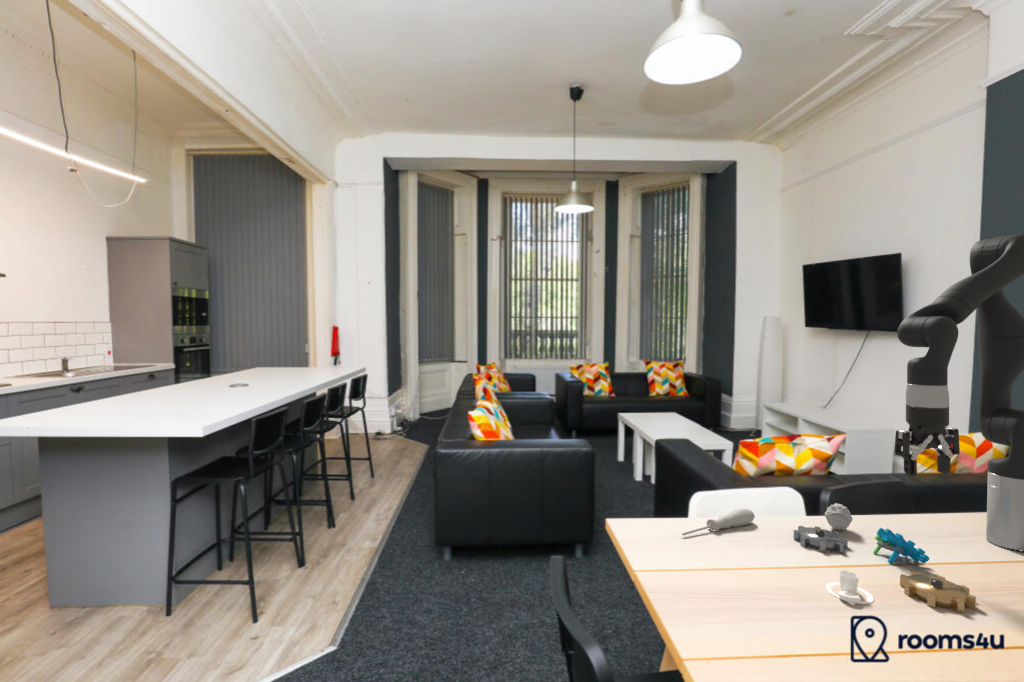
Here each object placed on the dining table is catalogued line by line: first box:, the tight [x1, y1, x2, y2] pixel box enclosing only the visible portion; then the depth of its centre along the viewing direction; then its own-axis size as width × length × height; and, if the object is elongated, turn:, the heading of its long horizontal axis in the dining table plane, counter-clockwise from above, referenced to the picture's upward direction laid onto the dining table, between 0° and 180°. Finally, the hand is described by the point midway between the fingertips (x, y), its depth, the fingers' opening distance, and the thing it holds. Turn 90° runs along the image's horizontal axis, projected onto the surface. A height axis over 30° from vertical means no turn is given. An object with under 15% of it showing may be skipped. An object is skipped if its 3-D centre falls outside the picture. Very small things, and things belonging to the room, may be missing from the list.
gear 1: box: [792, 525, 849, 554], centre depth 119 cm, size 11×11×3 cm
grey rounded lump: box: [824, 502, 854, 531], centre depth 127 cm, size 6×7×7 cm
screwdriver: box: [681, 508, 756, 536], centre depth 127 cm, size 5×25×4 cm, turn 114°
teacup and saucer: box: [824, 570, 875, 605], centre depth 96 cm, size 9×8×4 cm
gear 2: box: [872, 527, 931, 565], centre depth 109 cm, size 11×6×10 cm
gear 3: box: [899, 571, 977, 614], centre depth 95 cm, size 11×11×3 cm
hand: (927, 474), depth 110 cm, fingers open, 8 cm apart
